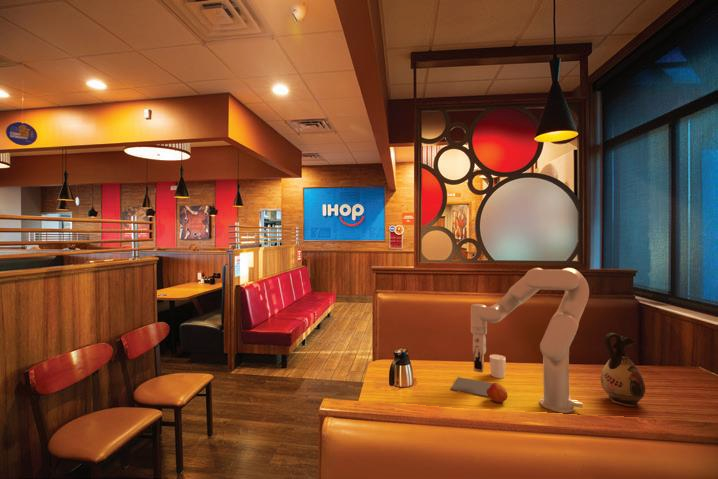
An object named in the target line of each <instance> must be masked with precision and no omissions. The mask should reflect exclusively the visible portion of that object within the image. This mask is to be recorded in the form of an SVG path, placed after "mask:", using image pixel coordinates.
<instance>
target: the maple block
mask: <svg viewBox="0 0 718 479" xmlns="http://www.w3.org/2000/svg"><path fill="white" fill-rule="evenodd" d="M478 354H480V353H478ZM484 355H485V354H484ZM484 355H483V356H482V355H481V361H482V369H481V370H480V369H475V354H473V372H476V373H482V374H483V372H484V369H485V367H484V366H485V364H484V363H485V362H484V361H485V360H484V359H485V358H484ZM479 357H480V356H479Z"/></svg>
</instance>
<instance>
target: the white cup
mask: <svg viewBox="0 0 718 479" xmlns="http://www.w3.org/2000/svg"><path fill="white" fill-rule="evenodd" d="M506 358H507V357H506V356H504V355H500V354H490V355H489V366H490V367H489V369H490V376H491V377H493V378H496V379H504V378H505V377H506V374H505V373H506V362H507V361H506Z"/></svg>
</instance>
